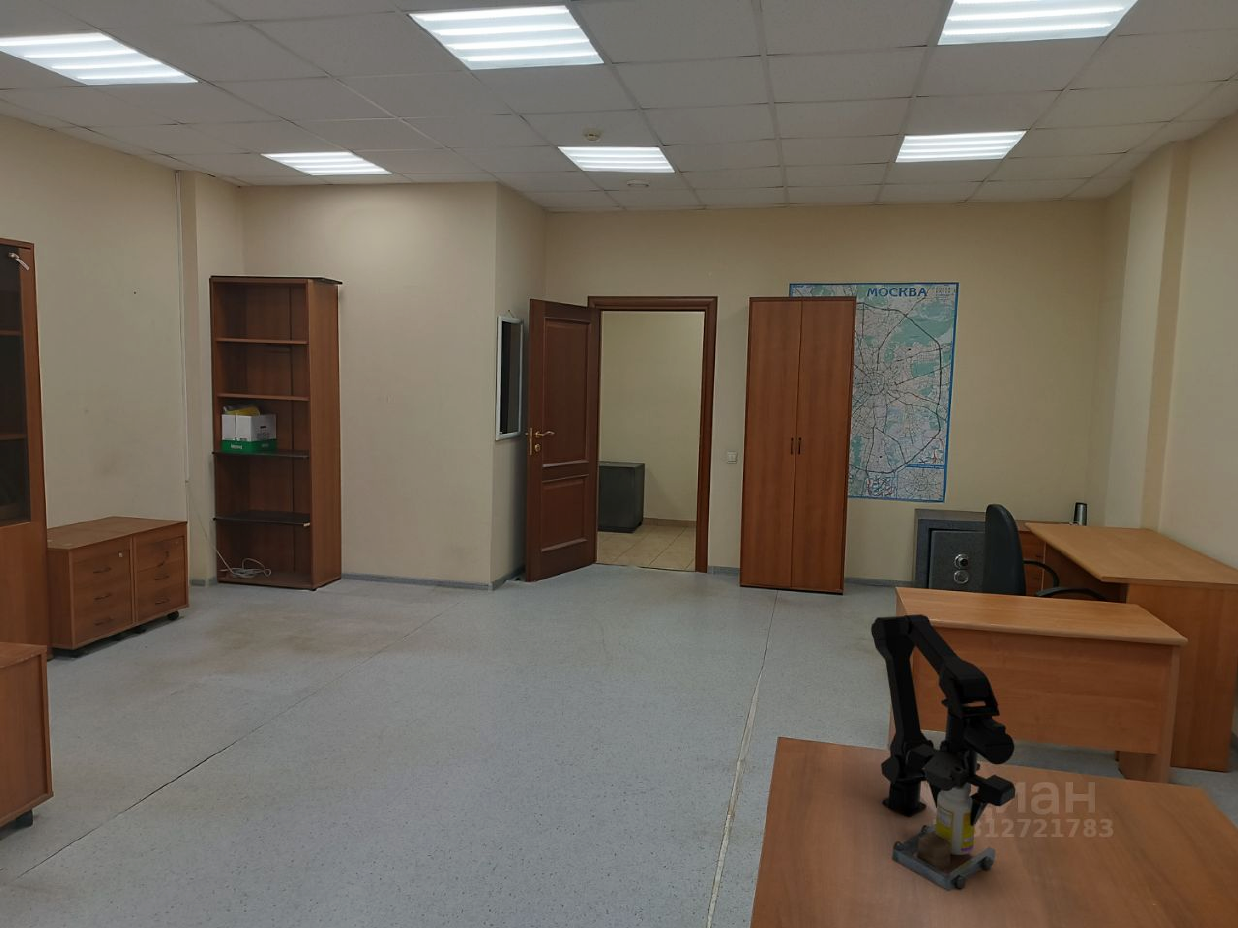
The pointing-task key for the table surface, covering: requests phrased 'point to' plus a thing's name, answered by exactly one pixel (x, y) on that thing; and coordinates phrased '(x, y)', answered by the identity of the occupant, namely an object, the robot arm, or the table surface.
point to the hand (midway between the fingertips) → (955, 816)
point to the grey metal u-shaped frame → (947, 881)
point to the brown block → (934, 851)
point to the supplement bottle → (956, 819)
